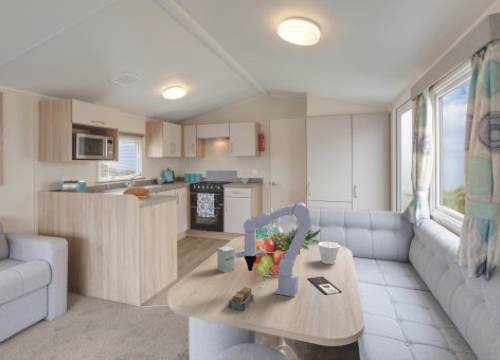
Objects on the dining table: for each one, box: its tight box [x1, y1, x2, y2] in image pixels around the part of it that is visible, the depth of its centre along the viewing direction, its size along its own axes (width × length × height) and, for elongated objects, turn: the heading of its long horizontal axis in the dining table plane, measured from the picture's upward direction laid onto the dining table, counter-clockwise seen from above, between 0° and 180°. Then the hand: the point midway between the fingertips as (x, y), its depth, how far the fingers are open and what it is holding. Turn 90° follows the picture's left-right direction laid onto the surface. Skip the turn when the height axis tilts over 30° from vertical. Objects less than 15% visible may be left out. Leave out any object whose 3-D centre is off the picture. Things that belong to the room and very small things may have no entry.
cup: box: [318, 241, 340, 265], centre depth 178 cm, size 12×12×11 cm
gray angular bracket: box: [228, 290, 254, 312], centre depth 127 cm, size 8×10×3 cm
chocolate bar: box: [307, 276, 342, 295], centre depth 146 cm, size 9×1×18 cm
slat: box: [232, 286, 252, 303], centre depth 128 cm, size 10×4×5 cm, turn 152°
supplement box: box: [217, 245, 236, 273], centre depth 165 cm, size 7×7×13 cm
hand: (250, 270), depth 141 cm, fingers closed
